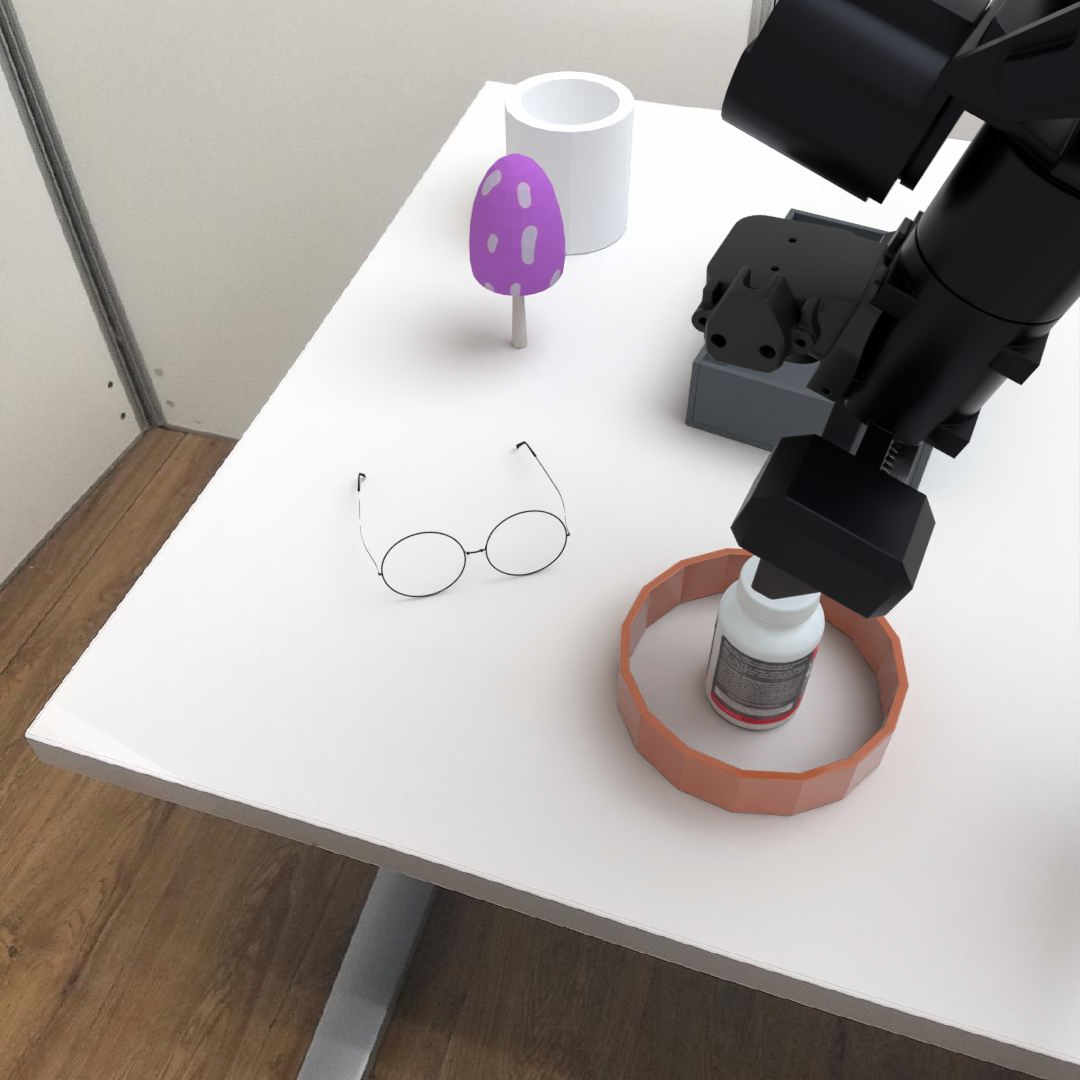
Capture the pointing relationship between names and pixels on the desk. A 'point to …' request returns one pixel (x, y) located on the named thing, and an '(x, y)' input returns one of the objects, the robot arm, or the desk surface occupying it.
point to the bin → (770, 389)
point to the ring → (725, 780)
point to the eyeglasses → (461, 545)
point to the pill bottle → (762, 653)
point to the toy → (516, 235)
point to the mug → (577, 149)
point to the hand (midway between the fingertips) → (795, 519)
